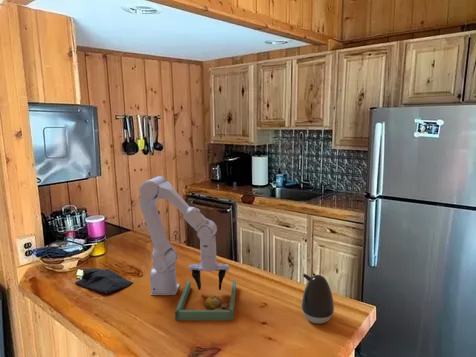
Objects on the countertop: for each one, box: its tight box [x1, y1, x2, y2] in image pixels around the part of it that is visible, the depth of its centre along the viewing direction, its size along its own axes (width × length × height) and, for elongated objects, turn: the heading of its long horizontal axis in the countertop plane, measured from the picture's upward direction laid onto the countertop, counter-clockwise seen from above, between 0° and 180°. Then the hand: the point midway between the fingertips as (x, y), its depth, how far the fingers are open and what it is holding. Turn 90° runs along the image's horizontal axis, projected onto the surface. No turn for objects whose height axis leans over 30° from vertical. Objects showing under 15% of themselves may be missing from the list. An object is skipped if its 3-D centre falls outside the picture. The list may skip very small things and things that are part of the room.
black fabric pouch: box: [74, 267, 134, 294], centre depth 143 cm, size 15×22×5 cm
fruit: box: [204, 295, 230, 310], centre depth 123 cm, size 8×8×4 cm
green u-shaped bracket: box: [174, 279, 237, 321], centre depth 127 cm, size 19×22×3 cm
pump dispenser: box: [301, 273, 335, 325], centre depth 114 cm, size 10×10×15 cm
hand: (209, 288), depth 132 cm, fingers open, 7 cm apart
